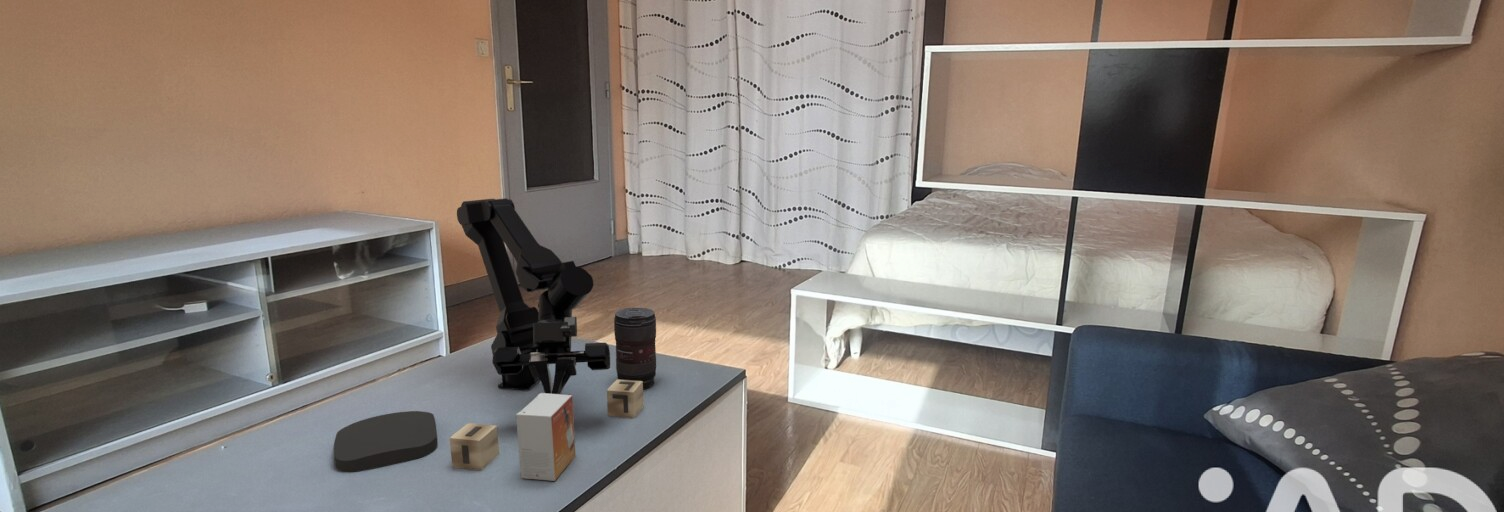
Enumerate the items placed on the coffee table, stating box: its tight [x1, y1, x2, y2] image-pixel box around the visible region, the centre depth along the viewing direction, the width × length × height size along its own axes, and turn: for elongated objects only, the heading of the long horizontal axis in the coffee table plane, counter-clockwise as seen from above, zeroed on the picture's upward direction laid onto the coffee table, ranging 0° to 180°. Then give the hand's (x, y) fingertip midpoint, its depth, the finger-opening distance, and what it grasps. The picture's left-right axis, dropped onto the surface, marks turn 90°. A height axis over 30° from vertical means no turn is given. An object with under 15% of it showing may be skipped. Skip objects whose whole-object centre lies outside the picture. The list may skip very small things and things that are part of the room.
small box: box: [515, 392, 576, 482], centre depth 104 cm, size 8×6×10 cm
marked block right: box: [606, 378, 645, 419], centre depth 124 cm, size 5×5×5 cm
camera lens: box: [613, 307, 657, 390], centre depth 135 cm, size 8×8×15 cm
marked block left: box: [448, 422, 500, 471], centre depth 106 cm, size 5×5×5 cm
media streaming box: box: [333, 410, 439, 473], centre depth 111 cm, size 15×15×3 cm
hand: (551, 407), depth 111 cm, fingers closed
